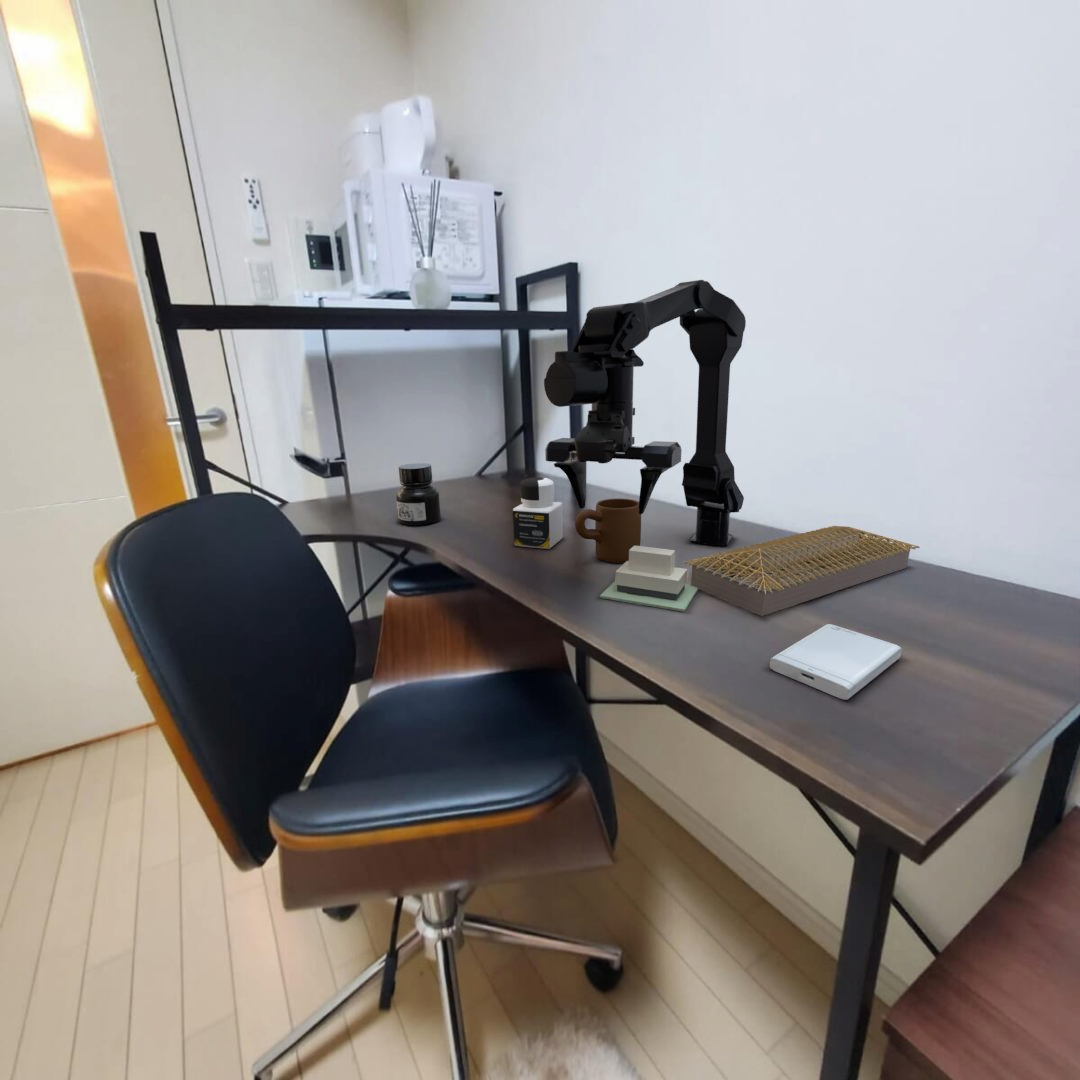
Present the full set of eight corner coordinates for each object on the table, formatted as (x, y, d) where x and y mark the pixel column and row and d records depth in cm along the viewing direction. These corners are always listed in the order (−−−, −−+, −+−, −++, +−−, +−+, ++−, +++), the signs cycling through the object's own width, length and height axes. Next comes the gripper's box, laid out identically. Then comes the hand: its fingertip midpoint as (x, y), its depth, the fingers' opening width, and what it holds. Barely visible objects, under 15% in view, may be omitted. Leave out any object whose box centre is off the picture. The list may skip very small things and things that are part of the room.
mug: (588, 572, 91) (587, 515, 88) (564, 558, 98) (564, 505, 95) (649, 559, 96) (650, 504, 93) (623, 547, 103) (624, 496, 100)
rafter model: (830, 544, 101) (834, 511, 99) (915, 568, 89) (922, 530, 87) (681, 584, 84) (684, 544, 82) (763, 619, 72) (767, 574, 70)
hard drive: (827, 622, 68) (770, 655, 61) (902, 646, 62) (849, 686, 55) (825, 634, 69) (769, 669, 61) (900, 660, 63) (847, 702, 55)
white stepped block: (626, 579, 86) (627, 541, 85) (686, 588, 82) (688, 548, 81) (615, 591, 82) (615, 551, 80) (677, 601, 78) (679, 559, 76)
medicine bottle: (513, 546, 105) (510, 482, 102) (528, 535, 111) (526, 474, 108) (549, 549, 103) (548, 484, 99) (563, 538, 109) (562, 476, 105)
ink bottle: (389, 522, 124) (383, 467, 120) (422, 513, 130) (417, 461, 127) (417, 529, 118) (412, 471, 114) (450, 519, 124) (446, 465, 121)
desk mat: (621, 576, 89) (621, 573, 89) (699, 588, 84) (699, 585, 83) (599, 597, 81) (599, 594, 81) (684, 612, 76) (684, 608, 76)
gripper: (525, 405, 77) (529, 518, 82) (662, 407, 69) (658, 531, 73) (560, 400, 86) (562, 501, 91) (684, 400, 78) (679, 511, 83)
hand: (611, 510), depth 84 cm, fingers open, 9 cm apart
